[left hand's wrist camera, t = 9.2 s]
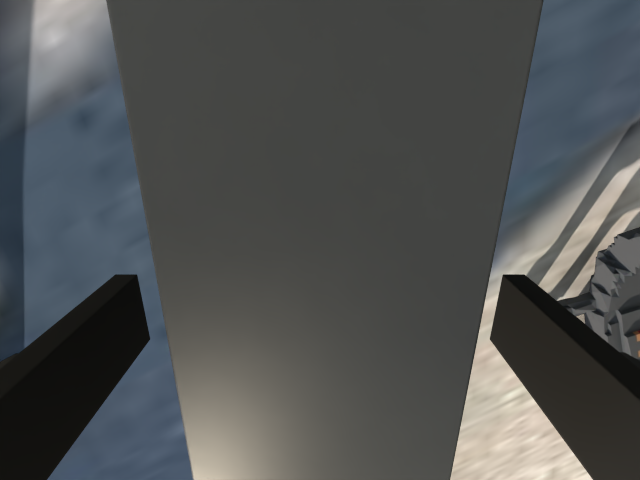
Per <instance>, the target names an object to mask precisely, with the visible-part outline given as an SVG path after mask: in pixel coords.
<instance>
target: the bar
mask: <svg viewBox="0 0 640 480" xmlns="http://www.w3.org/2000/svg"><path fill="white" fill-rule="evenodd" d="M106 1H107V6H108V12H109V17H110V23H111V28H112V34H113V39H114V45H115V50H116V56H117V62H118V67H119V73H120V78H121V84H122V89H123V95H124V100H125V106H126V111H127V117H128V122H129V128H130V133H131V139H132V145H133V150H134V156H135V161H136V167H137V172H138V178H139V183H140V189H141V194H142V200H143V205H144V211H145V216H146V222H147V228H148V233H149V239H150V244H151V250H152V255H153V261H154V266H155V272H156V277H157V283H158V288H159V294H160V299H161V305H162V311H163V316H164V322H165V327H166V333H167V338H168V344H169V349H170V355H171V360H172V366H173V371H174V377H175V382H176V388H177V394H178V399H179V405H180V410H181V416H182V421H183V427H184V432H185V438H186V443H187V449H188V454H189V460H190V465H191V471H192V477H193V480H450V477H451V472H452V467H453V461H454V456H455V451H456V446H457V441H458V436H459V431H460V426H461V420H462V415H463V410H464V405H465V400H466V395H467V390H468V385H469V379H470V374H471V369H472V364H473V359H474V354H475V349H476V344H477V338H478V333H479V328H480V323H481V318H482V313H483V308H484V303H485V297H486V292H487V287H488V282H489V277H490V272H491V267H492V261H493V256H494V251H495V246H496V241H497V236H498V231H499V226H500V220H501V215H502V210H503V205H504V200H505V195H506V190H507V185H508V179H509V174H510V169H511V164H512V159H513V154H514V149H515V144H516V138H517V133H518V128H519V123H520V118H521V113H522V108H523V103H524V97H525V92H526V87H527V82H528V77H529V72H530V67H531V61H532V56H533V51H534V46H535V41H536V36H537V31H538V26H539V20H540V15H541V10H542V5H543V0H106Z"/></svg>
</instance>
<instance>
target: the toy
mask: <svg viewBox="0 0 640 480" xmlns="http://www.w3.org/2000/svg"><path fill="white" fill-rule="evenodd" d="M614 242H615V243H612V244H611V245H609V246H608V248H607V249H605V250H602V251H599V252H598V255H597V257H596V266H595V274H594V275H591V282H590V292H589V293H586V294H583V295H580V296H577V297H574V298H568V299H563V300H559V301H557V302H559V303H560V304H561V305H562V306H563V307H565V308H566V309H567V310H568V311H570V312H571V313H572V314H573V315H575V316H578V315H581V314H584V315H585V324H586V325H587V326H588V327H589V328H590V329H592V330H593V331H594V332H595V333H597V334H598V335H599V336H600V337H602V338H603V339H604V340H605V341H606V342H608V343H609V344H610V345H611V346H613V347H614V348H615V349H616V350H617V351H619V352H625V353H627V354H629V355H631V356H632V357H634V358H636V359H638V360H640V227H639V228H636V229H633V230H630V231H627V232H624V233H621V234H618V235H617V236H616V237H614Z"/></svg>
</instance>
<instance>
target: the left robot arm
mask: <svg viewBox="0 0 640 480" xmlns="http://www.w3.org/2000/svg"><path fill="white" fill-rule="evenodd" d="M149 340H150V336H149V331H148V326H147V321H146V316H145V311H144V306H143V302H142V297H141V292H140V287H139V282H138V277H137V275H115V276H113V277H112V278H111V279H110V280H108V281H107V282H106V283H105V284H104V285H102V286H101V287H100V288H99V289H97V290H96V291H95V292H94V293H92V294H91V295H90V296H89V297H88V298H86V299H85V300H84V301H83V302H81V303H80V304H79V305H78V306H77V307H75V308H74V309H73V310H72V311H70V312H69V313H68V314H67V315H65V316H64V317H63V318H62V319H61V320H59V321H58V322H57V323H56V324H54V325H53V326H52V327H51V328H50V329H48V330H47V331H46V332H45V333H43V334H42V335H41V336H40V337H38V338H37V339H36V340H35V341H34V342H32V343H31V344H30V345H29V346H27V347H26V348H25V349H24V350H23V351H21V352H20V353H16V354H14V355H12V356H10V357H8V358H7V359H5V360H3V361H1V362H0V480H47V479H48V477H49V476H50V475H51V473H52V472H53V471H54V469H55V468H56V467H57V465H58V464H59V462H60V461H61V460H62V458H63V457H64V456H65V454H66V453H67V452H68V450H69V449H70V448H71V446H72V445H73V443H74V442H75V441H76V439H77V438H78V437H79V435H80V434H81V433H82V431H83V430H84V428H85V427H86V426H87V424H88V423H89V422H90V420H91V419H92V418H93V416H94V415H95V414H96V412H97V411H98V409H99V408H100V407H101V405H102V404H103V403H104V401H105V400H106V399H107V397H108V396H109V394H110V393H111V392H112V390H113V389H114V388H115V386H116V385H117V384H118V382H119V381H120V380H121V378H122V377H123V375H124V374H125V373H126V371H127V370H128V369H129V367H130V366H131V365H132V363H133V362H134V360H135V359H136V358H137V356H138V355H139V354H140V352H141V351H142V350H143V348H144V347H145V345H146V344H147V343H148V341H149ZM490 340H491V341H492V343H493V344H494V345H495V347H496V348H497V350H498V351H499V352H500V354H501V355H502V356H503V358H504V359H505V360H506V362H507V363H508V365H509V366H510V367H511V369H512V370H513V371H514V373H515V374H516V375H517V377H518V378H519V380H520V381H521V382H522V384H523V385H524V386H525V388H526V389H527V390H528V392H529V393H530V394H531V396H532V397H533V399H534V400H535V401H536V403H537V404H538V405H539V407H540V408H541V409H542V411H543V412H544V414H545V415H546V416H547V418H548V419H549V420H550V422H551V423H552V424H553V426H554V427H555V428H556V430H557V431H558V433H559V434H560V435H561V437H562V438H563V439H564V441H565V442H566V443H567V445H568V446H569V448H570V449H571V450H572V452H573V453H574V454H575V456H576V457H577V458H578V460H579V461H580V463H581V464H582V465H583V467H584V468H585V469H586V471H587V472H588V473H589V475H590V476H591V477H592V479H593V480H640V360H638V359H636V358H634V357H632V356H631V355H629V354H627V353H625V352H619V351H617V350H616V349H615V348H614V347H613V346H611V345H610V344H609V343H608V342H606V341H605V340H604V339H603V338H602V337H600V336H599V335H598V334H597V333H595V332H594V331H593V330H592V329H590V328H589V327H588V326H587V325H586V324H584V323H583V322H582V321H581V320H579V319H578V318H577V317H576V316H575V315H573V314H572V313H571V312H570V311H568V310H567V309H566V308H565V307H563V306H562V305H561V304H560V303H559V302H557V301H556V300H555V299H554V298H552V297H551V296H550V295H549V294H548V293H546V292H545V291H544V290H543V289H541V288H540V287H539V286H538V285H536V284H535V283H534V282H533V281H532V280H530V279H529V278H528V277H527V276H525V275H503V277H502V282H501V287H500V292H499V297H498V302H497V306H496V311H495V316H494V321H493V326H492V331H491V336H490Z"/></svg>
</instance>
